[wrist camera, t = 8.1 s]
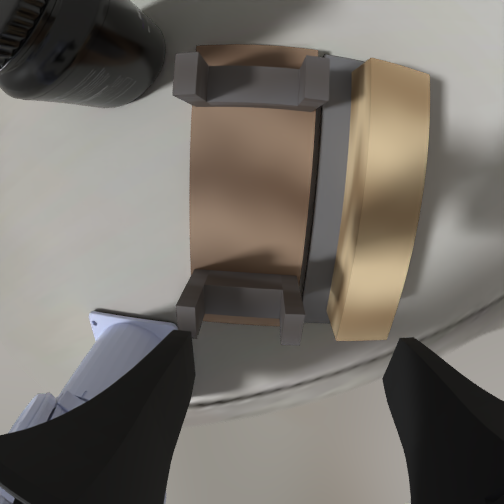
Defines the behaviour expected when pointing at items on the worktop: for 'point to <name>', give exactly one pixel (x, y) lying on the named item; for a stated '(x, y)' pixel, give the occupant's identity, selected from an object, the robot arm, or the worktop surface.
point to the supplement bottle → (78, 51)
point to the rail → (379, 198)
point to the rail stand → (249, 181)
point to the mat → (329, 189)
